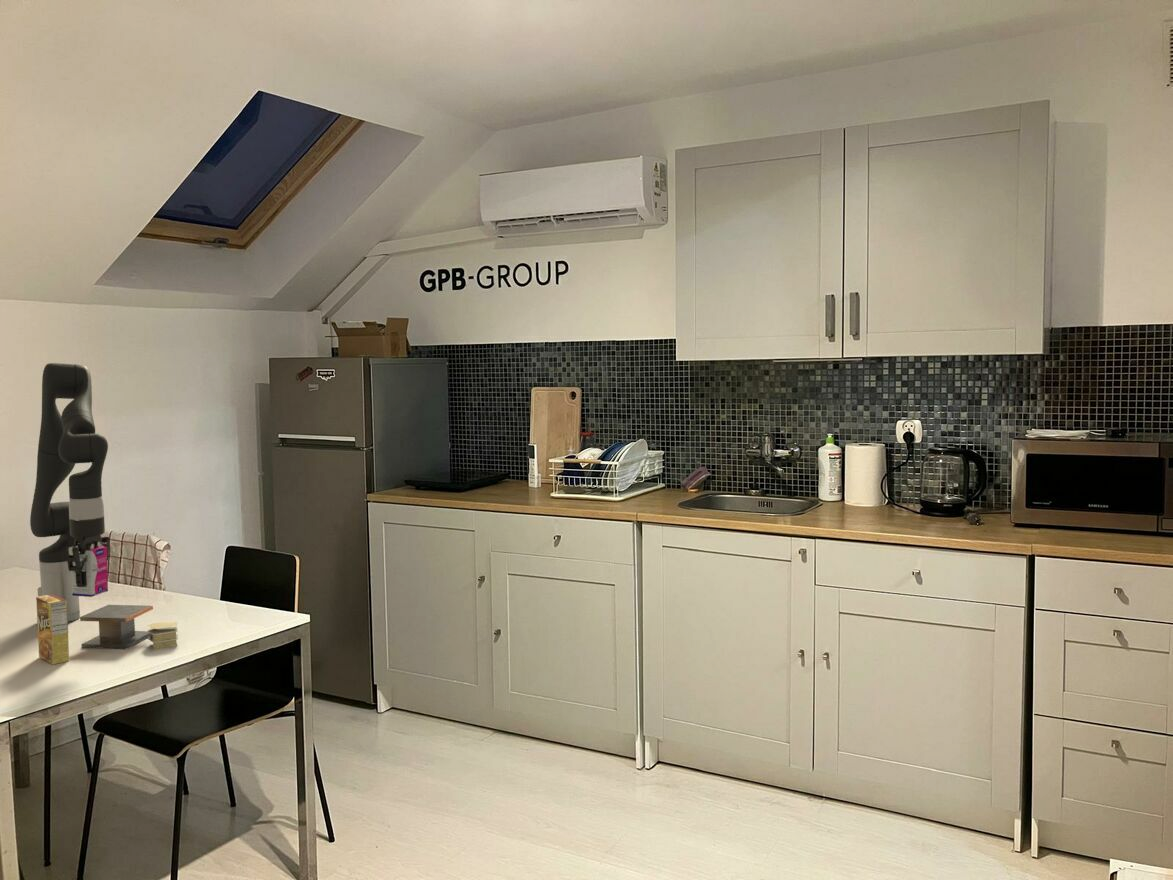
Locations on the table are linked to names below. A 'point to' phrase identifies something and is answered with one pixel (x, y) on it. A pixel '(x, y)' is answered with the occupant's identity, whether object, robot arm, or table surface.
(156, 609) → the table surface
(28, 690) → the table surface
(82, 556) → the supplement box
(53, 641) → the candy box
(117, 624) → the stand
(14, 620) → the table surface
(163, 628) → the tan layered block
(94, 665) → the table surface
